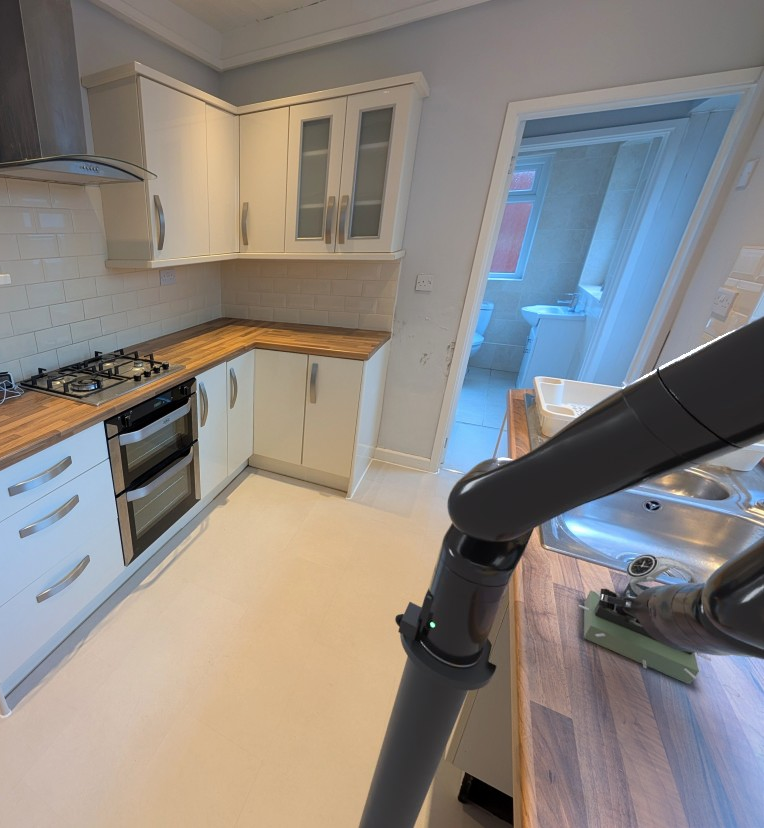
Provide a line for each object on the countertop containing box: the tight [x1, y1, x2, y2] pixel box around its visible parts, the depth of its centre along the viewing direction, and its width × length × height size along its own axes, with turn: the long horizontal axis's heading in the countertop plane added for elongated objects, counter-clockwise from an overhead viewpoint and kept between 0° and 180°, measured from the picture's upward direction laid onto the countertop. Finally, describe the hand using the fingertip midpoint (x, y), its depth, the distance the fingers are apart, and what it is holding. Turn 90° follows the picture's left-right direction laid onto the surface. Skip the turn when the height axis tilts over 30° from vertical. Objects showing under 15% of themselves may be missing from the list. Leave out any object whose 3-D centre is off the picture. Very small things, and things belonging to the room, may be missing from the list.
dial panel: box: [577, 589, 712, 685], centre depth 66 cm, size 15×15×3 cm
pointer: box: [595, 591, 693, 655], centre depth 65 cm, size 11×2×5 cm, turn 51°
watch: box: [622, 554, 699, 597], centre depth 71 cm, size 6×8×11 cm
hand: (631, 617), depth 64 cm, fingers closed
